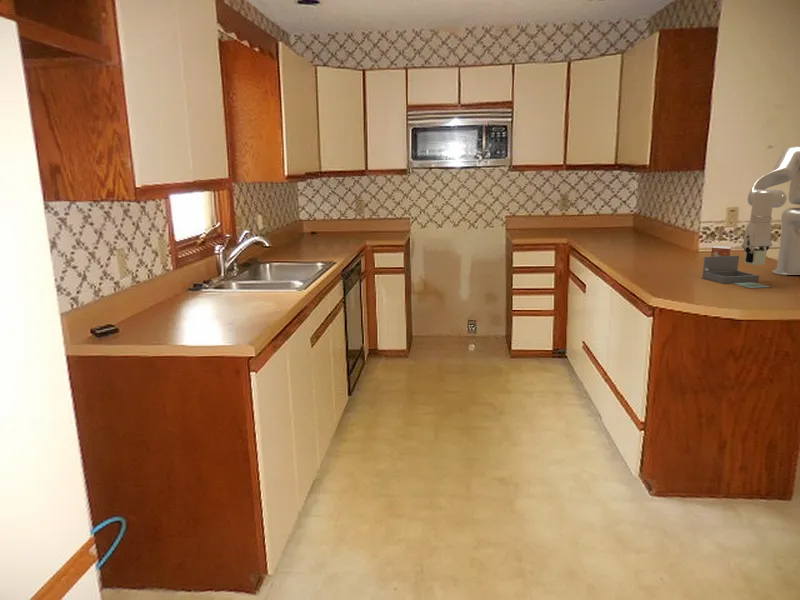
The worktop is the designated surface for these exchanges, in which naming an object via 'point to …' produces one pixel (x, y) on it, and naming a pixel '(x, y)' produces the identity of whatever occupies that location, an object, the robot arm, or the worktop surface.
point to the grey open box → (726, 270)
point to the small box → (720, 251)
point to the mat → (751, 285)
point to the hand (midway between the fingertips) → (754, 261)
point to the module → (757, 257)
